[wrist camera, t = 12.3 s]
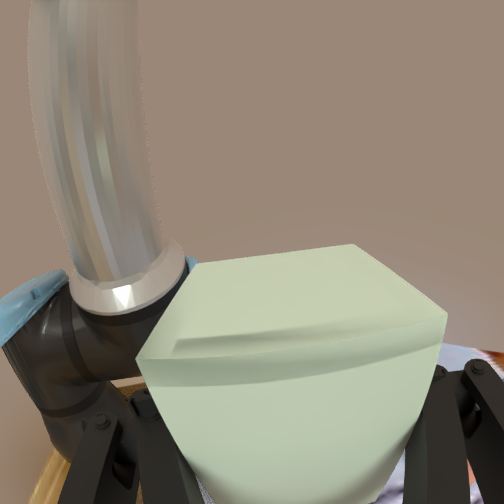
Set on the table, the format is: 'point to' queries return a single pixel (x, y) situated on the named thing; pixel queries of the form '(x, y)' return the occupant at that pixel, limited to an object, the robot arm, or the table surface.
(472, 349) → the table surface
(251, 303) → the pale green block
